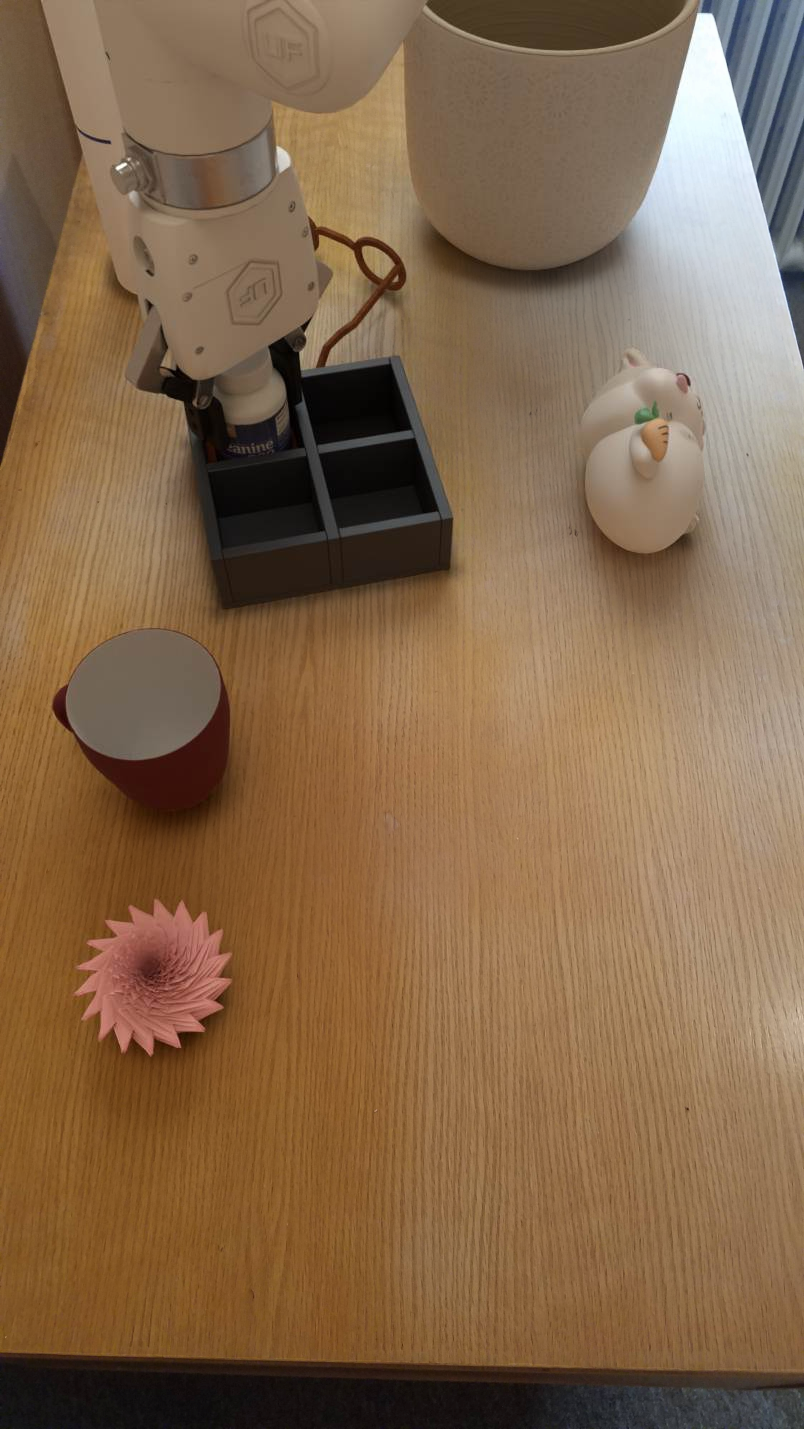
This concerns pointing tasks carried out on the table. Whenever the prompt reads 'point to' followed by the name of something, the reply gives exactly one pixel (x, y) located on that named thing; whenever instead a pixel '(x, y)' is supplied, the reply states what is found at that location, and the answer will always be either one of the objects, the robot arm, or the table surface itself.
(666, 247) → the table surface
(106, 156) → the cylindrical container
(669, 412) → the white animal figurine
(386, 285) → the glasses
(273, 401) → the pill bottle
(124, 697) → the mug
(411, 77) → the planter
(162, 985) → the flower
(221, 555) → the divided storage tray
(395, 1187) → the table surface
